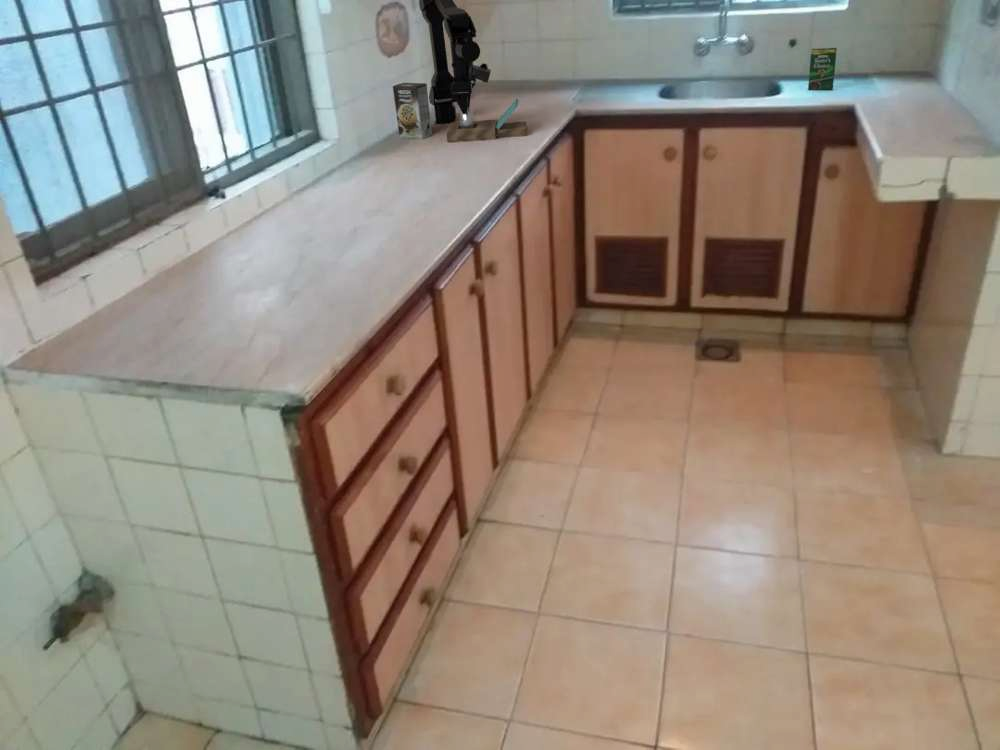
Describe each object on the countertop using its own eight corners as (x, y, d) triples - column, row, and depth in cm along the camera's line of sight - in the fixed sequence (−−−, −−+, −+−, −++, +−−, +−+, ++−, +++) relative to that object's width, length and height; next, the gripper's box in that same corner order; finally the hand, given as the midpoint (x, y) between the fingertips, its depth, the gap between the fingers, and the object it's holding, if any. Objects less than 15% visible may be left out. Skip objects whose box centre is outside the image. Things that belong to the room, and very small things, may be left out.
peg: (462, 137, 256) (459, 111, 252) (463, 134, 259) (460, 109, 255) (474, 137, 255) (472, 110, 251) (475, 133, 259) (473, 108, 255)
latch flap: (498, 129, 251) (496, 127, 251) (499, 122, 260) (498, 120, 259) (517, 107, 247) (515, 105, 247) (518, 100, 256) (516, 98, 256)
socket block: (447, 142, 252) (446, 132, 250) (452, 131, 264) (451, 122, 262) (525, 137, 250) (525, 127, 248) (526, 126, 262) (526, 117, 260)
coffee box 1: (398, 138, 262) (391, 86, 254) (409, 133, 267) (402, 82, 259) (422, 139, 258) (415, 86, 250) (433, 134, 263) (427, 82, 255)
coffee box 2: (806, 90, 276) (810, 49, 270) (808, 88, 278) (812, 47, 272) (831, 90, 273) (836, 49, 266) (833, 88, 275) (837, 47, 268)
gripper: (485, 61, 237) (490, 115, 245) (489, 51, 253) (494, 103, 261) (447, 63, 238) (453, 118, 246) (454, 54, 254) (459, 105, 262)
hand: (466, 111), depth 253 cm, fingers open, 9 cm apart
